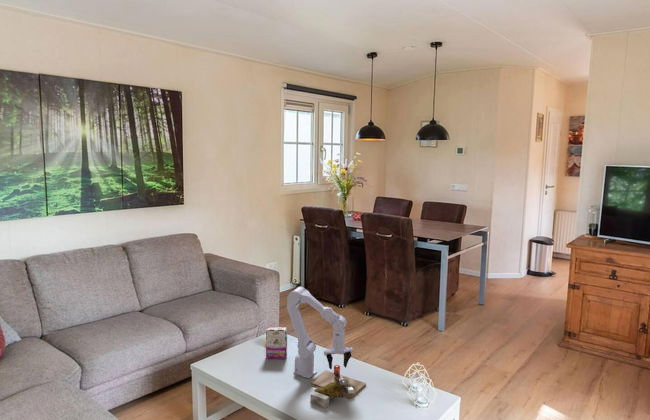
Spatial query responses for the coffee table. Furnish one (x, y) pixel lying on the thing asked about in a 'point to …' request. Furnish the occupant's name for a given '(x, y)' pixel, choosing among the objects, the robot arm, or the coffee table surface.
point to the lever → (342, 380)
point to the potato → (331, 390)
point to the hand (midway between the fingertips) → (337, 367)
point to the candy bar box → (276, 342)
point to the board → (329, 378)
